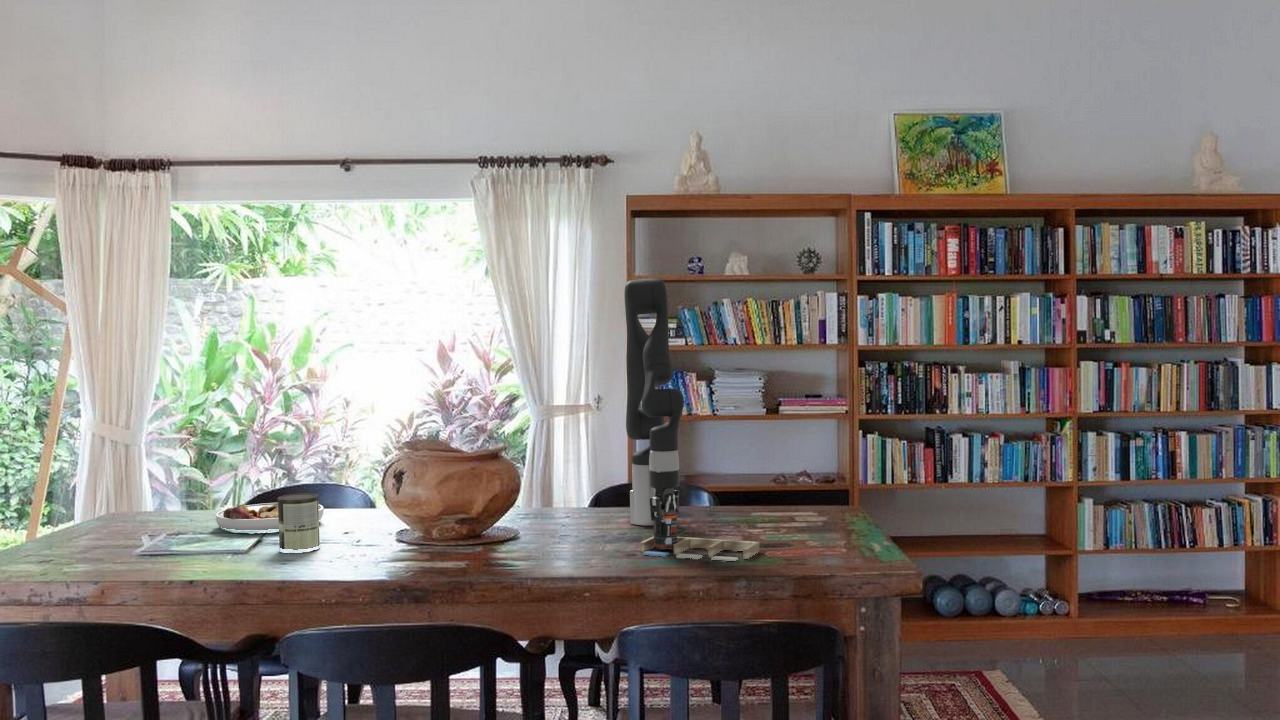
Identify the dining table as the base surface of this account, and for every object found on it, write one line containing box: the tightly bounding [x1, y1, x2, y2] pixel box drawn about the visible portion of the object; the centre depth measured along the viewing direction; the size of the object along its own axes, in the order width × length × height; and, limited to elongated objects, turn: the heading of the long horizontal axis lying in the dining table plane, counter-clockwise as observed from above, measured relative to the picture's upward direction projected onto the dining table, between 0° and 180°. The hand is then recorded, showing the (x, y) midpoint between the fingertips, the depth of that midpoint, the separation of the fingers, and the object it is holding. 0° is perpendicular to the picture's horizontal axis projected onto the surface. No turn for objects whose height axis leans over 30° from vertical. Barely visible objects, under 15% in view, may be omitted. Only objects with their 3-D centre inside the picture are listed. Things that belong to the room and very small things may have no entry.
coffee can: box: [277, 492, 321, 550], centre depth 283 cm, size 10×10×14 cm
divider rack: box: [639, 535, 760, 560], centre depth 270 cm, size 28×10×2 cm, turn 66°
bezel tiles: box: [642, 550, 739, 562], centre depth 263 cm, size 24×2×1 cm, turn 66°
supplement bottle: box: [653, 502, 678, 549], centre depth 273 cm, size 6×6×11 cm
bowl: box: [215, 502, 325, 530], centre depth 319 cm, size 30×30×8 cm
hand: (665, 534), depth 273 cm, fingers closed on supplement bottle, 6 cm apart
